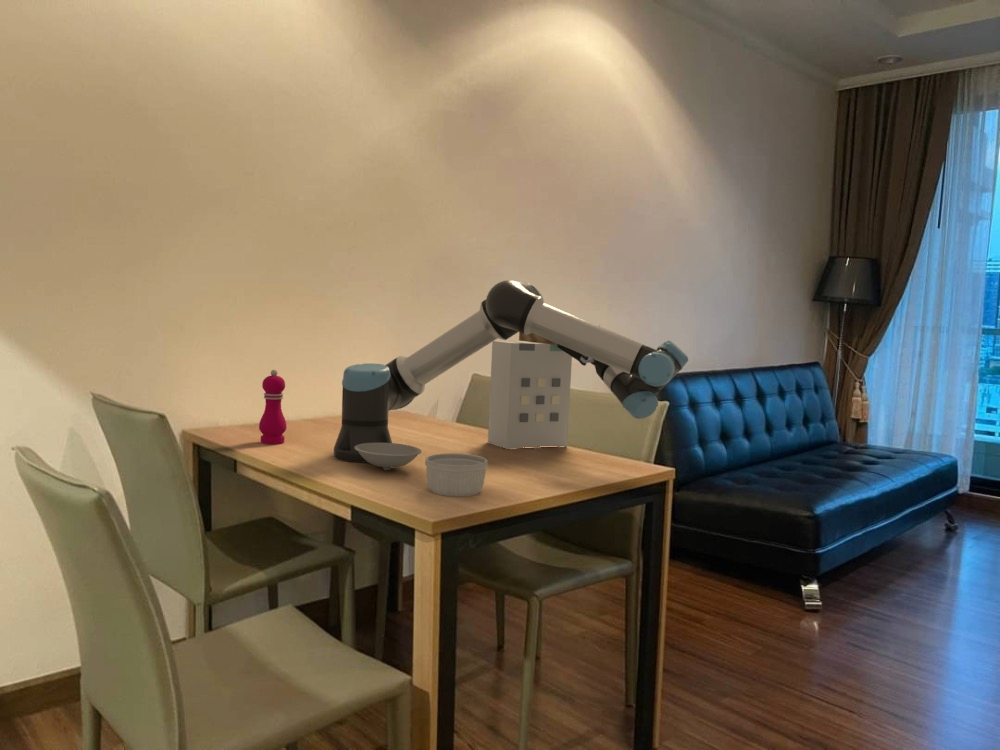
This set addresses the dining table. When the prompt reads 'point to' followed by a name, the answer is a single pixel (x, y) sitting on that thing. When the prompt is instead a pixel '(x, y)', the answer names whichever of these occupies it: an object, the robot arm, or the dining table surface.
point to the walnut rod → (534, 338)
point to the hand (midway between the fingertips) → (577, 328)
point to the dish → (387, 454)
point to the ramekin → (455, 474)
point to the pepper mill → (273, 410)
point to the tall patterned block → (529, 395)
